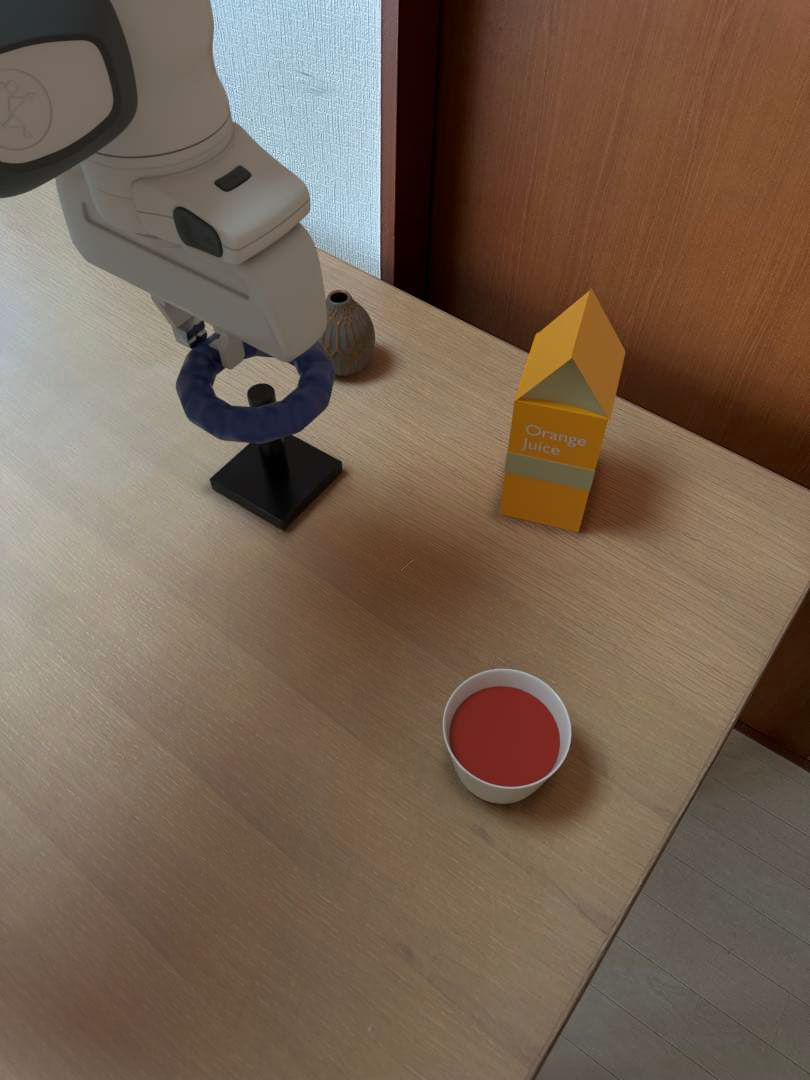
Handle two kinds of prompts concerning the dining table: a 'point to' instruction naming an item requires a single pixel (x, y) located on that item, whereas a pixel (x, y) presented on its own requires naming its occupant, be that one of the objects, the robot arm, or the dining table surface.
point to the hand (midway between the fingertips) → (211, 351)
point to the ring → (254, 421)
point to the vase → (347, 334)
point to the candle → (505, 734)
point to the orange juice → (562, 416)
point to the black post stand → (276, 472)
